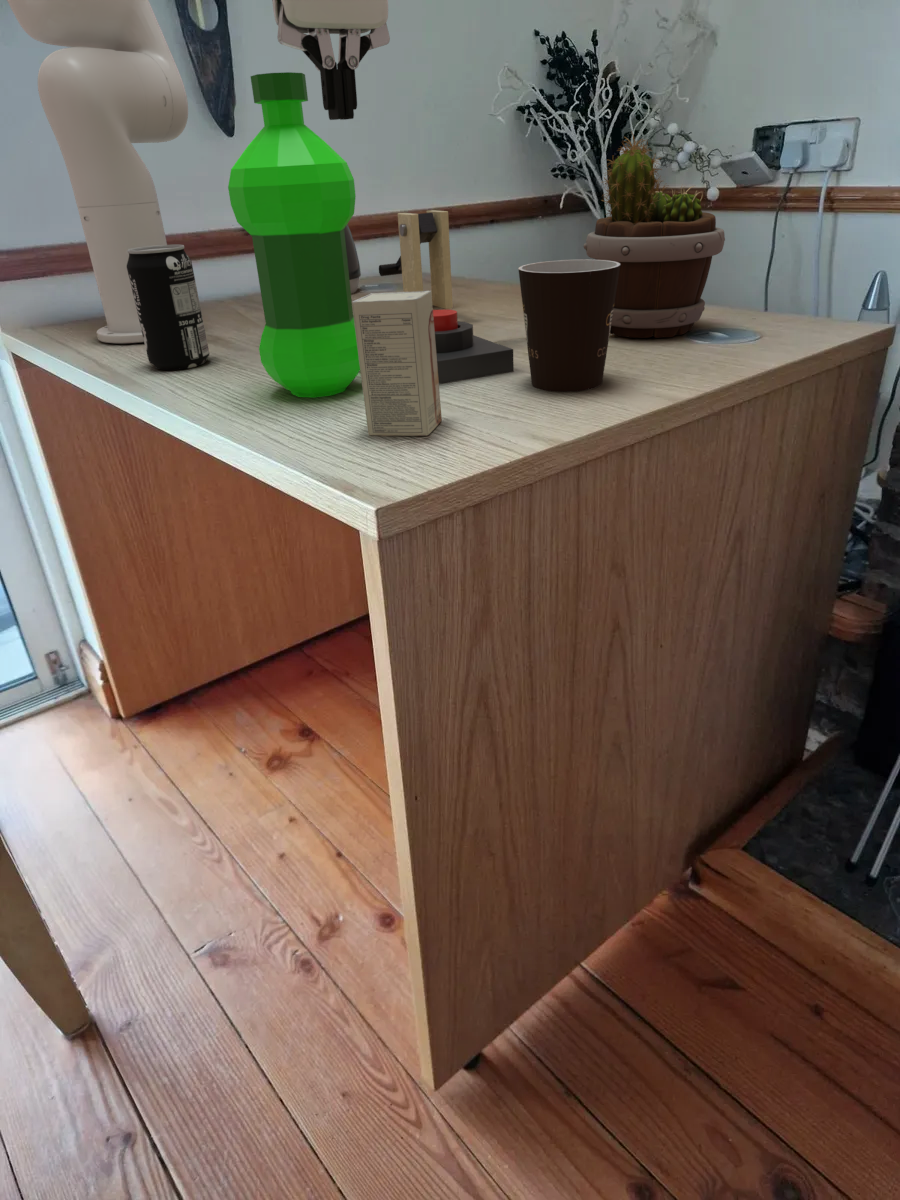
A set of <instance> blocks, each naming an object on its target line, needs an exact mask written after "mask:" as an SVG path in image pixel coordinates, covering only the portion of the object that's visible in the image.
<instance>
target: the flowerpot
mask: <svg viewBox="0 0 900 1200" xmlns="http://www.w3.org/2000/svg"><path fill="white" fill-rule="evenodd" d="M630 132H631V135H632V138H633V142H631V140H630V139H629V138H627V137H626V136H624V139H626V140H623V142H621V143H622V145H623V147H622V146H620V148H619V147H618V149H617V152H619V154H620V155H618V156H617V157H616V158H615V159H614V156H612V160H611V159H608V161H609V162H608V163H607V165H606V167H608V169H606V172H607V173H606V174H604V177H603V179H604V181H601V182H599V183H604V187H603V190H604V191H605V192H606V193H603V197H602V199H601V201H602V202H605V203H604V205H603V206H604V208H605V209H606V212H607V213H605V214H604V216H605V215H606V217H601V218H597V220H596V223H595V229H594V231H592V232H589V233H588V234H587V236H586V240H585V242H584V243H583V249H584V250H585V253H586V255H587V257H588V258H590V259H592V260H607V261H615V262H618V263H620V270H619V276H618V283H617V289H616V296H615V302H614V309H613V315H612V322H611V328H610V334H612V335H615V336H618V337H622V338H633V339H646V338H647V339H650V338H651V337H653V338H655V339H657V338H658V339H659V338H673V337H675V336H681V335H685V334H686V333H687V332H690V331H692V330H693V328H694V324H695V323H696V322H698V321H699V320H700V319H701V317H702V314H703V312H704V311H705V305H706V302H705V300H704V299H703V298H702V295H703V292H704V290H705V287H706V284H707V281H708V277H709V273H710V269H711V265H712V260H713V257H714V256H717V255H718V254H720V253H721V252H722V251H723V249H724V245H725V241H726V238H725V237H726V236H725V235H726V234H725V231H724V229H723V228H721V227H717V219H716V215H714V214H713V213H710V212H706V211H705V212H703V211H702V206H701V205H702V204H701V202H702V199H703V195H704V194H703V192H701V191H698V190H696V191H695V193H694V194H690V193H688V192H689V190H691V189H692V188H694V187H695V185H693V186H690V187H688V189H687V190H686V189H685V187H686V186H687V185H685V187H682V186H683V183H682V184H681V187H680V189H682V190H680V193H678V194H677V192H676V190H673V188H671V187H670V189H671V193H672V194H671V195H670V194H668V191H666V192H664V191H665V190H666V189H667V188H668V187H669V185H667V184H664V185H663V187H661V186H660V185H661V183H662V182H664V179H663V180H661V176H660V174H659V173H658V171H659V170H661V171H663V169H662V168H658V167H659V165H660V166H661V164H660V163H659V162H658V161H659V160H660V159H661V157H660V158H656V157H657V156H656V153H654V157H652V156H653V155H650V152H652V149H649V148H648V142H646V144H641V143H642V142H643V143H644V142H645V141H648V139H644V138H641V139H636V140H635V136H634V133H633V131H632V130H630ZM625 143H626V144H625ZM639 144H640V145H639ZM650 156H651V157H650ZM609 166H610V167H609ZM606 176H607V178H605V177H606ZM657 177H658V178H657ZM700 193H701V198H700V199H699V198H697V197H698V195H699V194H700ZM607 206H608V207H607ZM606 207H607V208H606Z"/></svg>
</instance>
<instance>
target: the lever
mask: <svg viewBox="0 0 900 1200" xmlns="http://www.w3.org/2000/svg"><path fill="white" fill-rule="evenodd" d="M417 214H418V220H419V235H420V245H421V244H425V243H429V242H431V240H432V239H433V237H434V236H435V234H436V233H437V228H436V224H435V220H434V216H433V213H427V212H424V213H423V212H422V213H417ZM378 275H379V276H380V277H388V276H396V275H402V264H401V255H399V257H398V259H397V261H396V262H394V263H385V264H384V263H383V264H379V265H378Z"/></svg>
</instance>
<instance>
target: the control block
mask: <svg viewBox="0 0 900 1200" xmlns="http://www.w3.org/2000/svg"><path fill="white" fill-rule="evenodd" d="M457 321H458V328H457V329H454V330H448V331H435V343H436V355H437V367H438V380H439V385H441V384H448V383H453V382H459V381H464V380H465V381H466V380H471V379H477V378H483V377H489V376H494V375H500V374H501V375H502V374H507V373H512V372H514V370H515V369H514V366H515V365H514V348H511V347H508V346H505V345H502V344H500V343H497V342H494V341H491V340H488V339H485V338H482V337H480V336H477V335H474V324H472V323H470V322H466V321H461V320H460V321H459V320H457Z"/></svg>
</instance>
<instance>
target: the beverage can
mask: <svg viewBox="0 0 900 1200" xmlns="http://www.w3.org/2000/svg"><path fill="white" fill-rule="evenodd" d="M127 252H128V253H129V259H128V262H127V271H128V275H129V279H130V284H131V288H132V292H133V297H134V301H135V305H136V309H137V314H138V318H139V322H140V326H141V331H142V335H143V339H144V342H143V343H144V346H145V351H146V355H147V359H148V360H147V361H148V363H150V364H151V365H153V366H154V368H156V369H157V370H162V371H177V370H179V371H180V370H185V369H187V370H188V369H191V368H192V369H193V368H195V367H199V366H202V365H203V364H205V363H206V362H207V359H208V358H209V356H210V348H209V344H208V339H207V334H206V328H205V324H204V318H203V313H202V308H201V304H200V303H201V302H200V298H199V293H198V287H197V283H196V278H195V273H194V268H193V263H192V259H191V258H190V256H189V255H188V254H187V253H186V251H185V245H184V244H167V245H157V246H146V247H139V248H132V249H128V250H127Z"/></svg>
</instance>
